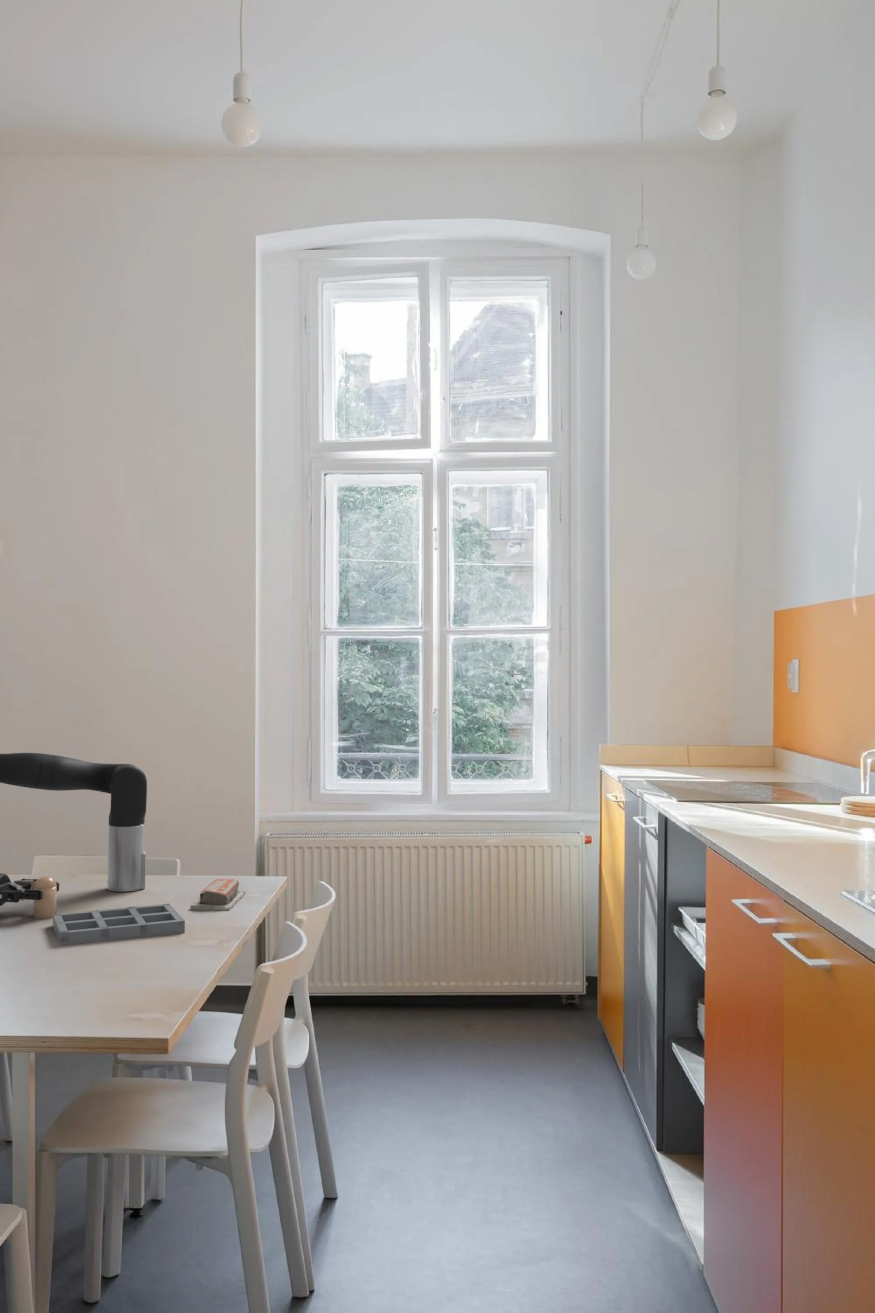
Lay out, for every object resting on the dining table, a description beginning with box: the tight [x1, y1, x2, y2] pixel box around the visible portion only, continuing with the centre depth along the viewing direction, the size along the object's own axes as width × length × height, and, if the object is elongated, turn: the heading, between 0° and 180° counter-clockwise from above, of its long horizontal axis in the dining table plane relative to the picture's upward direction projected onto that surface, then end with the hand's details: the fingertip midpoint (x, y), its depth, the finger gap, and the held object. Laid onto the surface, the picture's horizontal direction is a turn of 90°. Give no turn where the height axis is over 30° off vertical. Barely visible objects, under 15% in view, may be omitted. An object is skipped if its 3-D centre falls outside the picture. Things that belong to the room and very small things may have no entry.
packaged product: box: [190, 878, 247, 911], centre depth 250 cm, size 18×5×10 cm
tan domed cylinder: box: [33, 875, 58, 920], centre depth 234 cm, size 5×5×10 cm
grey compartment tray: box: [52, 903, 186, 946], centre depth 223 cm, size 26×18×3 cm
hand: (50, 891), depth 234 cm, fingers open, 8 cm apart
